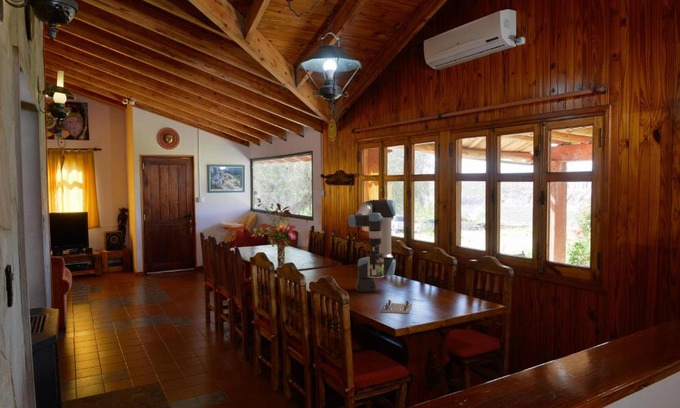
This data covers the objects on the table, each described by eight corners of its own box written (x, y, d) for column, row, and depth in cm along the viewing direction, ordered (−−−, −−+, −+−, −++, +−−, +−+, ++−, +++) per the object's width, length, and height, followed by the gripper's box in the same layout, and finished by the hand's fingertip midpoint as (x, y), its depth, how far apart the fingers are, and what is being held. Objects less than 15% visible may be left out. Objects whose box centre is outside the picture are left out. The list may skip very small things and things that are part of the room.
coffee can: (387, 276, 310) (387, 254, 310) (374, 278, 304) (374, 255, 304) (376, 274, 319) (376, 252, 318) (364, 276, 313) (363, 254, 312)
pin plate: (386, 305, 314) (386, 299, 313) (411, 306, 310) (411, 300, 310) (382, 312, 298) (382, 305, 298) (409, 313, 294) (409, 306, 294)
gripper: (372, 235, 322) (373, 269, 323) (365, 239, 300) (366, 276, 301) (384, 235, 320) (384, 269, 321) (378, 240, 298) (378, 276, 300)
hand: (375, 273), depth 311 cm, fingers closed on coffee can, 10 cm apart
